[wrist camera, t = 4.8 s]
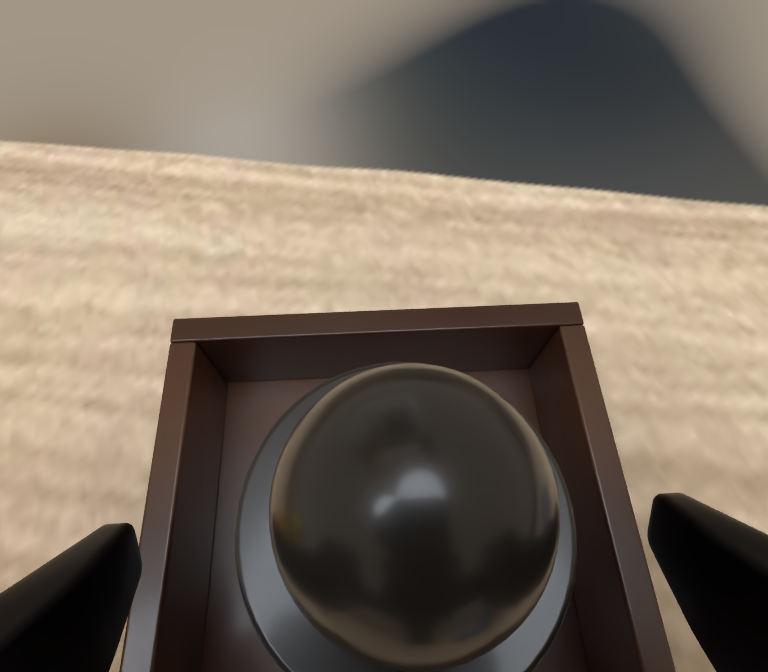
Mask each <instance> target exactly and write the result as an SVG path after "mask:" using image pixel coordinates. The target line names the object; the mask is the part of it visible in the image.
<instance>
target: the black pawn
mask: <svg viewBox="0 0 768 672" xmlns="http://www.w3.org/2000/svg"><path fill="white" fill-rule="evenodd" d="M234 553H235V562H236V571H237V578H238V582H239V586H240V590H241V594H242V599H243V602H244V604H245V607H246V610H247V612H248V615H249V618H250V620H251V623H252V625H253V627H254V629H255V631H256V632H257V634H258V636H259V638H260V640H261V642H262V643H263V645H264V647H265V649H266V650H267V651H268V653H269V654H270V655H271V657H272V658H273V659H274V661H275V662H276V663H277V665H278V666H279V667H280V669H281V670H282V671H283V672H533V671H534V669H535V668H536V667H537V665H538V664H539V663H540V661H541V660H542V659H543V657H544V656H545V655H546V653H547V652H548V650H549V648H550V647H551V645H552V643H553V641H554V639H555V637H556V635H557V634H558V632H559V630H560V628H561V625H562V622H563V620H564V617H565V614H566V612H567V609H568V606H569V603H570V598H571V594H572V589H573V585H574V581H575V571H576V560H577V541H576V527H575V520H574V514H573V507H572V504H571V500H570V497H569V493H568V489H567V486H566V483H565V481H564V478H563V476H562V473H561V471H560V468H559V466H558V464H557V462H556V460H555V458H554V456H553V455H552V453H551V451H550V449H549V447H548V446H547V444H546V442H545V441H544V440H543V438H542V437H541V435H540V434H539V433H538V431H537V430H536V428H535V427H534V426H533V425H532V424H531V423H530V421H529V420H528V419H527V418H526V417H525V416H524V415H523V414H522V413H521V411H520V410H518V409H517V408H516V407H515V406H514V405H513V404H512V403H510V402H509V401H508V400H507V399H506V398H505V397H503V396H502V395H501V394H499V393H498V392H496V391H495V390H494V389H492V388H491V387H489V386H488V385H486V384H485V383H483V382H481V381H479V380H477V379H475V378H473V377H472V376H469V375H467V374H464V373H462V372H459V371H457V370H454V369H450V368H446V367H442V366H438V365H434V364H426V363H419V362H386V363H377V364H372V365H368V366H363V367H359V368H356V369H353V370H350V371H347V372H345V373H342V374H339V375H337V376H335V377H333V378H331V379H329V380H327V381H325V382H323V383H321V384H320V385H318V386H317V387H315V388H314V389H312V390H311V391H309V392H308V393H306V394H305V395H304V396H302V397H301V398H300V399H299V400H298V401H297V402H295V403H294V404H293V405H292V406H291V407H290V408H289V409H288V410H287V411H286V412H285V413H284V414H283V415H282V416H281V417H280V418H279V420H278V421H277V422H276V423H275V424H274V426H273V427H272V428H271V430H270V431H269V433H268V434H267V435H266V437H265V438H264V440H263V441H262V443H261V445H260V447H259V448H258V450H257V452H256V454H255V456H254V458H253V459H252V462H251V464H250V467H249V469H248V472H247V474H246V477H245V479H244V482H243V486H242V490H241V493H240V497H239V501H238V506H237V513H236V521H235V538H234Z"/></svg>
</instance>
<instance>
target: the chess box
mask: <svg viewBox="0 0 768 672" xmlns="http://www.w3.org/2000/svg"><path fill="white" fill-rule="evenodd" d="M170 341H171V344H170V349H169V355H168V362H167V368H166V375H165V381H164V388H163V394H162V401H161V407H160V413H159V420H158V426H157V433H156V439H155V446H154V452H153V459H152V465H151V472H150V478H149V484H148V491H147V497H146V504H145V510H144V517H143V523H142V530H141V536H140V543H139V550H140V555H141V559H142V573H141V577H140V581H139V584H138V587H137V590H136V593H135V596H134V599H133V602H132V605H131V608H130V611H129V614H128V620H127V626H126V633H125V639H124V646H123V652H122V659H121V665H120V672H283V671H282V670H281V669H280V667H279V666H278V665H277V663H276V662H275V661H274V659H273V658H272V657H271V655H270V654H269V653H268V651H267V650H266V649H265V647H264V645H263V643H262V642H261V640H260V638H259V636H258V634H257V632H256V631H255V629H254V627H253V625H252V623H251V620H250V618H249V615H248V612H247V610H246V607H245V604H244V602H243V599H242V594H241V590H240V586H239V582H238V578H237V571H236V562H235V553H234V538H235V521H236V513H237V506H238V501H239V497H240V493H241V490H242V486H243V482H244V479H245V477H246V474H247V472H248V469H249V467H250V464H251V462H252V459H253V458H254V456H255V454H256V452H257V450H258V448H259V447H260V445H261V443H262V441H263V440H264V438H265V437H266V435H267V434H268V433H269V431H270V430H271V428H272V427H273V426H274V424H275V423H276V422H277V421H278V420H279V418H280V417H281V416H282V415H283V414H284V413H285V412H286V411H287V410H288V409H289V408H290V407H291V406H292V405H293V404H294V403H295V402H297V401H298V400H299V399H300V398H301V397H302V396H304V395H305V394H306V393H308V392H309V391H311V390H312V389H314V388H315V387H317V386H318V385H320V384H321V383H323V382H325V381H327V380H329V379H331V378H333V377H335V376H337V375H339V374H342V373H345V372H347V371H350V370H353V369H356V368H359V367H363V366H368V365H372V364H377V363H386V362H419V363H426V364H434V365H438V366H442V367H446V368H450V369H454V370H457V371H459V372H462V373H464V374H467V375H469V376H472V377H473V378H475V379H477V380H479V381H481V382H483V383H485V384H486V385H488V386H489V387H491V388H492V389H494V390H495V391H496V392H498V393H499V394H501V395H502V396H503V397H505V398H506V399H507V400H508V401H509V402H510V403H512V404H513V405H514V406H515V407H516V408H517V409H518V410H520V411H521V413H522V414H523V415H524V416H525V417H526V418H527V419H528V420H529V421H530V423H531V424H532V425H533V426H534V427H535V428H536V430H537V431H538V433H539V434H540V435H541V437H542V438H543V440H544V441H545V442H546V444H547V446H548V447H549V449H550V451H551V453H552V455H553V456H554V458H555V460H556V462H557V464H558V466H559V468H560V471H561V473H562V476H563V478H564V481H565V483H566V486H567V489H568V493H569V497H570V500H571V504H572V507H573V514H574V520H575V527H576V541H577V560H576V571H575V581H574V585H573V589H572V594H571V598H570V603H569V606H568V609H567V612H566V614H565V617H564V620H563V622H562V625H561V628H560V630H559V632H558V634H557V635H556V637H555V639H554V641H553V643H552V645H551V647H550V648H549V650H548V652H547V653H546V655H545V656H544V657H543V659H542V660H541V661H540V663H539V664H538V665H537V667H536V668H535V669H534V671H533V672H676V671H675V667H674V663H673V659H672V656H671V652H670V648H669V644H668V641H667V637H666V633H665V629H664V626H663V622H662V618H661V614H660V610H659V607H658V603H657V599H656V595H655V592H654V588H653V584H652V580H651V576H650V573H649V569H648V565H647V561H646V558H645V554H644V550H643V546H642V543H641V539H640V535H639V531H638V527H637V524H636V520H635V516H634V512H633V509H632V505H631V501H630V497H629V493H628V490H627V486H626V482H625V478H624V475H623V471H622V467H621V463H620V460H619V456H618V452H617V448H616V444H615V441H614V437H613V433H612V429H611V426H610V422H609V418H608V414H607V411H606V407H605V403H604V399H603V395H602V392H601V388H600V384H599V380H598V377H597V373H596V369H595V365H594V361H593V358H592V354H591V350H590V346H589V343H588V339H587V335H586V331H585V328H584V326H583V319H582V315H581V311H580V308H579V304H578V302H570V303H547V304H523V305H499V306H475V307H451V308H427V309H404V310H380V311H356V312H332V313H308V314H284V315H261V316H237V317H213V318H189V319H174V321H173V327H172V333H171V340H170Z"/></svg>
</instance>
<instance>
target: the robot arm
mask: <svg viewBox="0 0 768 672" xmlns="http://www.w3.org/2000/svg"><path fill="white" fill-rule="evenodd" d="M648 541H649V545H650V547H651V549H652V551H653V553H654V556H655V558H656V560H657V562H658V564H659V566H660V568H661V570H662V572H663V574H664V576H665V578H666V580H667V582H668V584H669V586H670V588H671V590H672V592H673V594H674V596H675V598H676V600H677V602H678V604H679V606H680V608H681V610H682V612H683V614H684V616H685V618H686V620H687V622H688V624H689V626H690V628H691V630H692V631H693V633H694V635H695V637H696V639H697V640H698V642H699V644H700V645H701V647H702V649H703V650H704V652H705V654H706V655H707V657H708V659H709V660H710V662H711V663H712V665H713V667H714V668H715V670H716V672H768V535H767V534H765V533H763V532H761V531H759V530H757V529H755V528H753V527H750V526H748V525H746V524H744V523H742V522H740V521H738V520H736V519H734V518H732V517H730V516H728V515H726V514H724V513H722V512H720V511H717V510H715V509H713V508H711V507H709V506H707V505H705V504H703V503H701V502H699V501H697V500H695V499H693V498H691V497H689V496H687V495H684V494H682V493H665V494H658V495H656V496H655V498H654V500H653V504H652V509H651V515H650V520H649V526H648ZM141 573H142V559H141V555H140V550H139V546H138V542H137V538H136V534H135V530H134V528H133V526H132V525H131V524H129V523H119V524H107V525H104V526H102V527H100V528H99V529H97V530H96V531H94V532H93V533H91V534H90V535H88V536H87V537H85V538H84V539H82V540H81V541H79V542H78V543H76V544H75V545H73V546H72V547H70V548H69V549H67V550H66V551H64V552H63V553H61V554H59V555H58V556H56V557H55V558H53V559H52V560H50V561H49V562H47V563H46V564H44V565H43V566H41V567H40V568H38V569H37V570H35V571H34V572H32V573H31V574H29V575H28V576H26V577H25V578H23V579H22V580H20V581H19V582H17V583H16V584H14V585H13V586H11V587H10V588H8V589H7V590H5V591H4V592H2V593H1V594H0V672H109V670H110V667H111V664H112V662H113V659H114V656H115V653H116V650H117V647H118V644H119V641H120V638H121V635H122V632H123V629H124V626H125V623H126V620H127V617H128V614H129V611H130V608H131V605H132V602H133V599H134V596H135V593H136V590H137V587H138V584H139V581H140V577H141Z"/></svg>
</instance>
